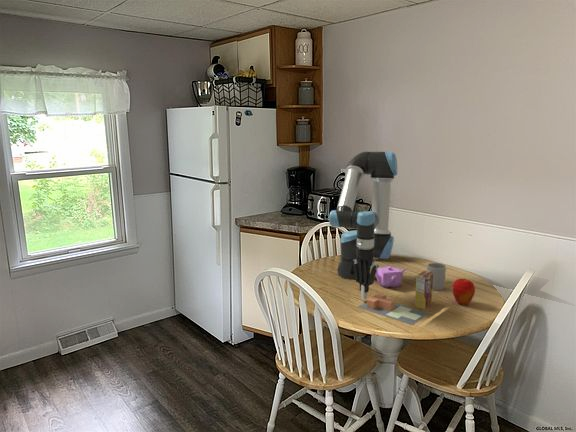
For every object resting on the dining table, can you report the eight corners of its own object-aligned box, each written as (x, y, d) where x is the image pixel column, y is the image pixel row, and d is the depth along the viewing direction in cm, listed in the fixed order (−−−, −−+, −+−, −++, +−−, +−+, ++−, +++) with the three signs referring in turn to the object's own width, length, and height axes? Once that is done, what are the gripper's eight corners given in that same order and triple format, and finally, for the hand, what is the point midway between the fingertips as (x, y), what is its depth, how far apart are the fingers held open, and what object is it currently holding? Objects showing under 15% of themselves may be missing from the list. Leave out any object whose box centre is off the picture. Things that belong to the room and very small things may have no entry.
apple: (478, 305, 195) (480, 279, 193) (461, 308, 192) (463, 282, 190) (463, 298, 204) (465, 273, 201) (447, 300, 201) (448, 275, 199)
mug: (447, 290, 214) (448, 268, 211) (429, 290, 213) (431, 268, 211) (438, 281, 225) (439, 260, 223) (421, 281, 225) (422, 260, 223)
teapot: (375, 292, 212) (376, 272, 210) (367, 282, 225) (368, 264, 223) (412, 290, 214) (413, 270, 212) (402, 280, 227) (402, 262, 225)
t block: (366, 307, 192) (366, 299, 192) (379, 300, 199) (379, 293, 199) (386, 313, 186) (386, 305, 185) (398, 306, 193) (398, 298, 192)
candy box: (423, 302, 200) (424, 269, 196) (432, 304, 197) (434, 271, 194) (414, 308, 193) (416, 275, 190) (423, 311, 190) (425, 277, 187)
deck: (357, 309, 193) (357, 307, 193) (375, 299, 204) (375, 297, 203) (412, 327, 175) (412, 325, 175) (429, 315, 186) (429, 313, 186)
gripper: (347, 246, 196) (346, 297, 200) (373, 251, 187) (371, 304, 192) (357, 243, 201) (356, 292, 206) (382, 248, 192) (381, 299, 197)
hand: (363, 298), depth 199 cm, fingers closed
